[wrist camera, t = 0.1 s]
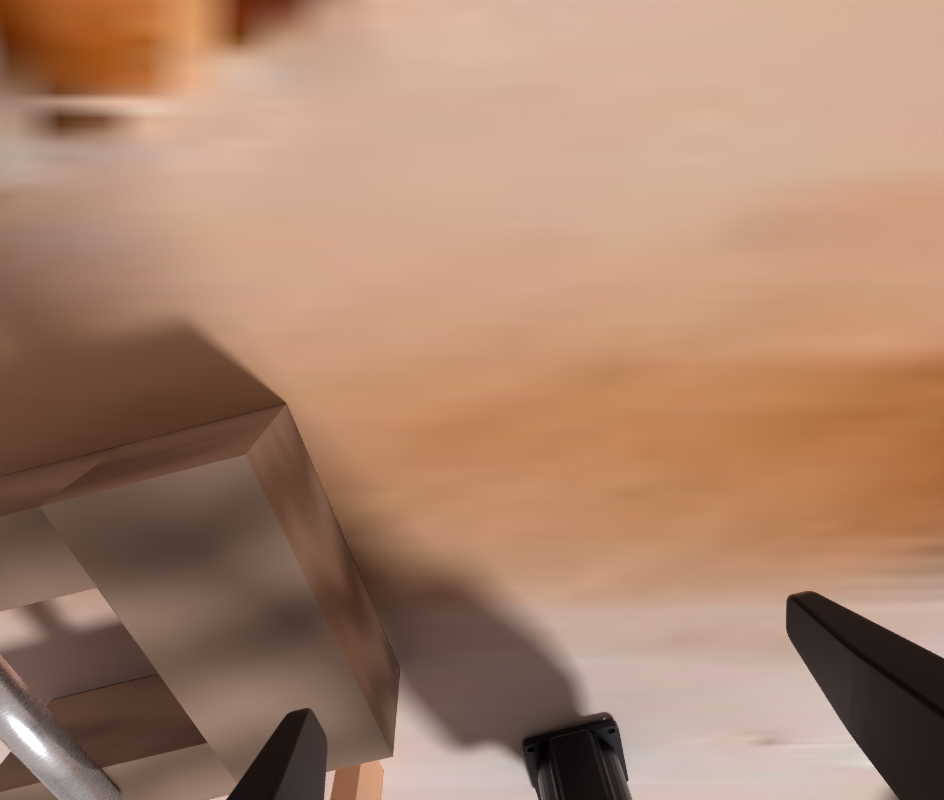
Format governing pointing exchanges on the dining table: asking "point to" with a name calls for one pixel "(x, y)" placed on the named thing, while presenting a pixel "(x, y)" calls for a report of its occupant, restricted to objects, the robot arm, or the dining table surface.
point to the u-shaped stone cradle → (203, 605)
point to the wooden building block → (358, 782)
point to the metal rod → (47, 744)
